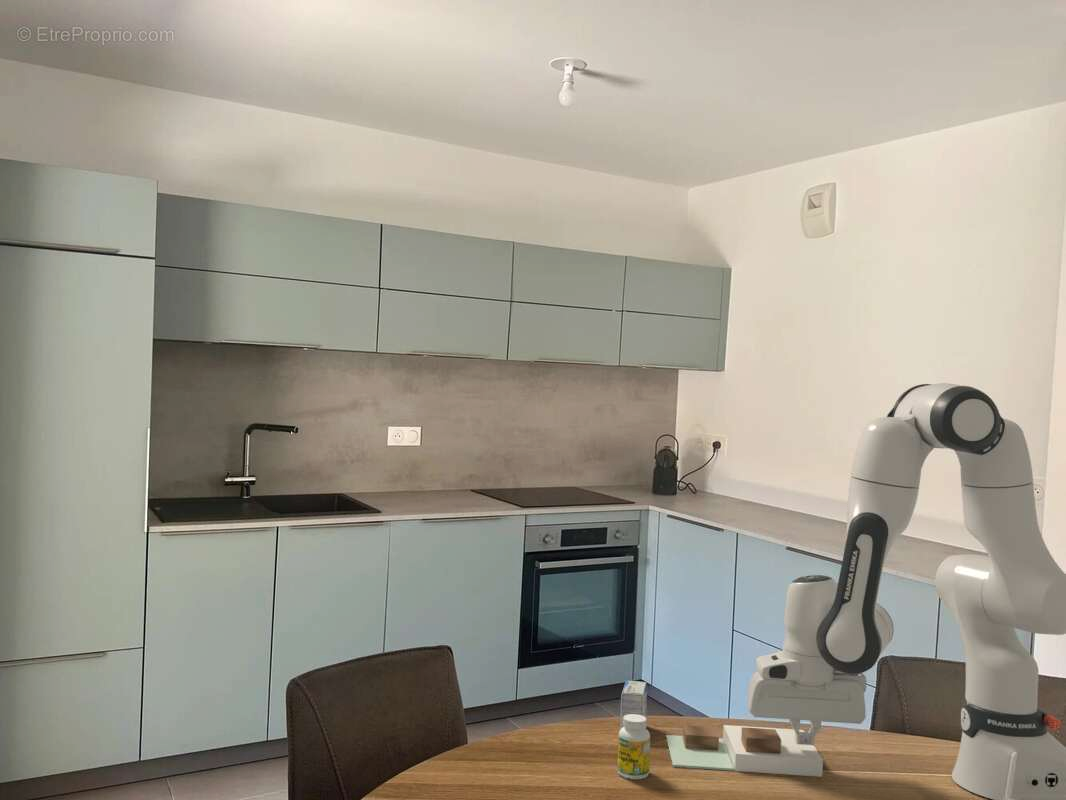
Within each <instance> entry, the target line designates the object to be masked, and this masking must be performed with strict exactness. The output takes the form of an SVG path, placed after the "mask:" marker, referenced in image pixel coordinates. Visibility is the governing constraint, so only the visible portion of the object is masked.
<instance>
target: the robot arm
mask: <svg viewBox="0 0 1066 800" xmlns="http://www.w3.org/2000/svg"><path fill="white" fill-rule="evenodd" d="M1028 447H1029V446H1028V443H1027V440H1026V437H1025V434H1024V431H1023V429H1022V427H1020V425H1019V424H1018V423H1016V422H1014V421H1013V420H1010V419H1006V418H1003V417H1002V416H1001V414H1000V411H999V409H998V407H997V404H996V403H995V402H994V400H993V399H992V398H991V397H990V396H988V394H987V393H985V392H984V391H982V390H980V389H977V388H975V387H974V386H973V387H972V386H969V385H968V386H967V385H960V384H954V383H948V382H946V383H945V382H944V383H943V382H941V383H936V384H931V383H930V384H929V383H925V384H918V385H915V386H913V387H910V388H908V389H907V390H905V391H904V392H902V394H901V395H900V396H899V397H898V399H896V401H895V403H894V405H893V408H891V410H890V411H889V412H888V413H887V415H886V416H885V417H884V416H883V417H879V418H876V419H872V420H871V421H870V422H868V423H867V424H866V425H865V427H864V428H863V431H862V433H861V436H860V439H859V441H858V444H857V448H856V451H855V454H854V458H853V464H852V468H851V474H850V479H849V488H848V498H847V515H846V516H847V518H846V531H845V532H846V534H845V546H844V551H843V555H842V561H841V567H840V570H839V576H838V581H836V580H835V579H834V578H833V577H831V576H828V575H820V574H819V575H817V574H815V575H813V574H812V575H805V576H800V577H797V578H796V579H794V580H792V581H791V583H789V585H788V587H787V592H786V596H785V603H784V612H783V613H784V615H783V625H784V630H785V634H784V635H785V637H784V639H783V643H782V650H780V651H776V652H773V653H770V654H765V655H761V656H758V657H756V658H755V667H756V670H757V671H755V672H754V673H753V674H752V676H751V678H750V682H749V686H748V691H747V692H748V693H747V702H746V703H747V709H748V711H749V713H750V714H751V715H752V716H753V717H754V718H760V719H761V718H763V719H777V720H778V719H779V720H789V723H790V725H791V727H792V729H794V731H795V742H796V744H799V745H800V744H801V745H815V736H817V734H818V733H819V731H820V729H821V728H822V723H823V722H824V723H826V722H827V723H841V724H857V725H860V724H862V723H863V722H864V721H865V719H866V716H867V714H866V713H867V711H866V699H865V693H866V691H867V687H868V686H867V680H868V679H867V676H866V675H865V672H867V671H869V670H871V669H872V668H873V667H874V666H875V665H876V663H877V662H878V660H879V658H880V655H881V654H882V653H884V651H885V649H886V648H887V647H888V646H889V644H890V643H891V641H892V639H893V636H894V623H893V619H892V617H891V616H890V614H889V612H888V611H887V610H886V609H885V608H884V607H883V606H881V605H880V604H878V603H877V600H878V595H879V590H880V584H881V579H882V574H883V569H884V565H885V562H886V560H887V557H888V556H889V553H890V552H891V549H892V548H893V546H895V545H894V544H895V543H896V542H897V541H898V539H899V538H900V537H901V536H902V534H903V533H904V532H905V530H906V529H907V528H908V526H909V524H910V523H911V519H912V516H913V514H914V510H915V508H916V504H917V502H918V497H919V491H920V484H921V478H922V477H921V476H922V475H921V474H922V468H923V466H924V463H925V461H926V459H927V457H928V455H930V453H931V452H932V451H933V450H934V449H949V450H953V451H954V453H955V454H956V456H957V459H958V461H959V465H960V485H961V497H962V498H961V500H962V508H963V510H962V511H963V513H962V514H963V522H964V525H965V528H966V530H967V531H968V532H969V534H971V535H972V536H973V538H975V539H976V540H977V541H978V542H979V543H980V544H981V546H982V547H983V548H984V550H985V552H986V553H987V555H982V554H979V553H978V554H977V553H976V554H975V553H974V554H972V553H970V554H969V553H963V554H952V555H950V556H947V557H946V558H945V559H944V560H942V562H941V563H940V564H939V566H938V567H937V570H936V572H935V577H934V585H935V589H936V593H937V596H938V598H939V599H940V600H941V601H942V602H943V603H944V605H946V607H947V609H948V610H949V612H950V613H951V615H952V617H953V619H954V621H955V622H956V625H957V628H958V631H959V634H960V637H961V641H962V644H963V649H964V655H965V658H964V659H965V693H964V694H965V695H964V696H963V697H962V701H961V703H962V704H961V710H960V711H961V712H960V724H961V725H960V726H961V731H962V733H961V739H960V745H959V750H958V755H957V758H956V761H955V764H954V767H953V770H952V771H951V772H952V773H951V778H952V780H953V782H954V783H956V784H958V785H959V786H960V787H961V788H963V789H964V790H966V791H968V792H971V793H974V794H975V795H978V796H981V797H984V798H987V799H991V800H1066V746H1065V745H1063V744H1062V743H1061V742H1060V741H1059V740H1058V739H1056V737H1054V736H1053V735H1052V734H1050V733H1049V732H1048V728H1047V727H1049V728H1050V729H1051V730H1052V731H1057V730H1059V729H1060V728H1061V725H1062V724H1061V721H1060V719H1059V718H1058V717H1056V716H1054V715H1052V714H1048V713H1046V712H1044V711H1043V710H1041V709H1040V708H1038V698H1039V697H1038V696H1039V695H1038V694H1039V692H1038V691H1039V671H1040V670H1039V667H1038V666H1039V665H1038V663H1037V661H1036V659H1035V657H1034V656H1033V655H1032V654H1031V653H1030V652H1029V651H1028V650H1027V648H1025V647H1024V646H1023V644H1022V643H1021V640H1020V639H1019V637H1018V635H1017V631H1016V630H1017V629H1018V630H1021V631H1024V632H1027V633H1031V634H1038V635H1053V636H1055V635H1056V636H1062V635H1066V573H1065V572H1064V571H1063V569H1062V568H1061V567H1060V566H1059V565H1058V563H1057V562H1056V561H1055V559H1054V558H1053V555H1052V554H1051V552H1050V550H1049V549H1048V546H1047V545H1046V542H1045V541H1044V538H1043V536H1042V533H1041V530H1040V526H1039V522H1038V515H1037V508H1036V507H1037V506H1036V498H1035V490H1034V488H1035V487H1034V477H1033V476H1034V475H1033V467H1032V461H1031V456H1030V451H1029V448H1028ZM801 721H809V722H810V724H811V727H810V728H809V730H808V731H804V732H800V731H799V730H800V729H799V727H801V726H800V725H801ZM798 726H799V727H798Z"/></svg>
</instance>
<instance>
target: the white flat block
mask: <svg viewBox="0 0 1066 800" xmlns="http://www.w3.org/2000/svg"><path fill="white" fill-rule="evenodd" d="M742 727H745V728H761V729H775V730H776V732H777V733H778V735H779V737H780V739H781V754H772V753H757V752H746V751H745V748H744V746H743V744H742V742H741V734H742ZM722 728H723V729H722V730H723V731H722V732H723V733H722V734H723V736H722V740H723V742H724V744H725V747H726V750H727V752H728V755H729V757H730V760H731V762H732V765H733V767H734V772H744V773H761V774H762V773H763V774H774V775H791V776H804V777H805V776H806V777H822V778H823V767H824V759H823V757H822V756H821V754H820V753H819V751H818V749H817V748H816V747H815V746H814V745H815V744H814V745H801V744H800V745H799V744H796V742H795V731H794V729H793V728H792V729H791V728H777V727H763V726H760V727H759V726H748V725H747V726H745V725H729V724H728V725H727V724H723V727H722ZM798 730H799V731H800V732H805V730H804V729H798Z"/></svg>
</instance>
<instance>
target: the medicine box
mask: <svg viewBox="0 0 1066 800" xmlns="http://www.w3.org/2000/svg"><path fill="white" fill-rule="evenodd" d="M620 696H621V697H620V722H619V723H620V724H619V725H620V727H619V729H620V730H621V729H622V728H623V727H624V725H623V717H624V716H625V715H628V714H637V715H642V716H644V717H645V718H646V719H647V699H648V698H647V697H648V683H647V682H646V681H645V682H644V681H636V680H626V681H625V683H624V686H623V689H622V692H621V695H620ZM620 730H619V731H620Z"/></svg>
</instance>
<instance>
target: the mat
mask: <svg viewBox="0 0 1066 800" xmlns="http://www.w3.org/2000/svg"><path fill="white" fill-rule="evenodd" d="M665 738H667V739H666V743H667V742H668V743H667V748H668V747H669V748H668V751H670V752H669V755H670V760H672V761H671V763H672V768H683V767H684V768H685V769H686V768H687V769H701V770H702V769H703V770H712V771H714V770H716V771H730V772H731V771H732V772H735V769H734V767H733V765H732V762H731V760H730V757H729V755H728V752H727V750H726V747H725V745H724V742H723V737H722V738H721V737H719V744H718V751H717V750H702V749H687V748H685V745H684V742H683V735H675V734H673V735H672V734H666V735H665ZM684 768H683V769H684Z"/></svg>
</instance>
